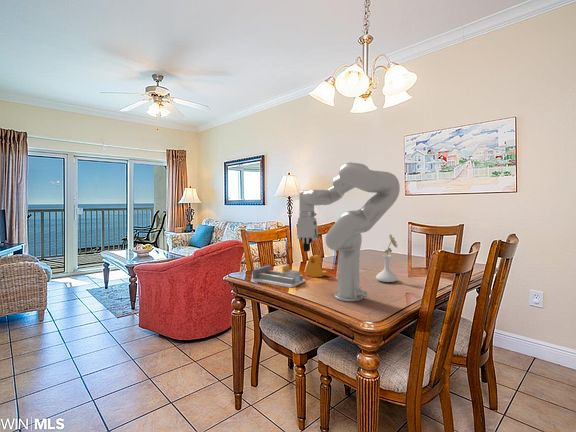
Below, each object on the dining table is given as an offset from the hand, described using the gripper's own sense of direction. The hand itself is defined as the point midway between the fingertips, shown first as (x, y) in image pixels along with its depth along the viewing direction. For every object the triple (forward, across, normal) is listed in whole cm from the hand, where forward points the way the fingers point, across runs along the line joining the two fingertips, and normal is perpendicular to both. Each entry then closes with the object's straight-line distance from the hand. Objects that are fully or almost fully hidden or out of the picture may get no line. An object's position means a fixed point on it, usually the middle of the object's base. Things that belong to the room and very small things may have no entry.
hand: (306, 251), depth 158 cm
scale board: (+18, +18, 0) cm, 25 cm away
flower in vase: (+18, -32, -32) cm, 48 cm away
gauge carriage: (+17, +10, 0) cm, 19 cm away
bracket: (+18, +6, -22) cm, 29 cm away
